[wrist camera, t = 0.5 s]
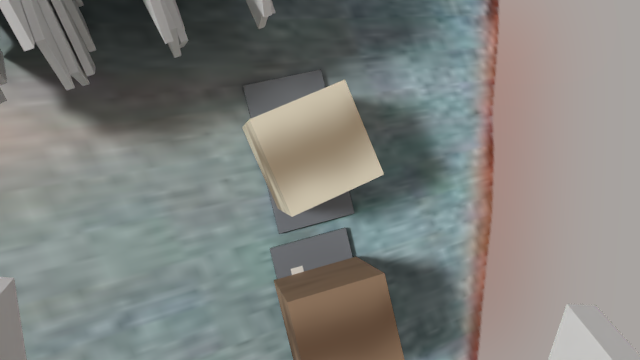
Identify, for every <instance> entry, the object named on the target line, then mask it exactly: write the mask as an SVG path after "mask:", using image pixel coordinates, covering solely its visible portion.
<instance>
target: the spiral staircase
mask: <svg viewBox="0 0 640 360" xmlns="http://www.w3.org/2000/svg"><path fill="white" fill-rule="evenodd" d="M143 2H144V4H145V6H146V8H147V10H148V11H149V13H150V15H151V17H152V19H153V21H154V23H155V25H156V27H157V29H158V31H159V33H160V34H161V36H162V38H163V40H164V42H165V44H167V43H168V45H169V47H170V49H171V52H172V54H173V56H174V58H176V57H179V56H181V50H180V48H182V47H184V46H185V45H186V43H187V42H188V38H187V35H186V33H185V27H184V24H183V21H182V18H181V15H180V12H179V10H178V7H177V4H176V1H175V0H143ZM246 2H247V4H248V7H249V9H250V11H251V14H252V16H253V18H254V20H255V23H256V25H257V27H258V29H261V28H263V27H265V25H266V21H267V18H268V16H270V15H272V14H274V13H276V12H275V9H274V6H273V3H272V0H246ZM81 6H84V4H83V2H82V0H0V9H1V11H2V12H3V14H4V16H5V18H6V20H7V21H8V23H9V25H10V27H11V28H12V30H13V32H14V34H15V36H16V37H17V39H18V41H19V43H20V45H21V46H22V48H23V50H24V51H27V50H30V49H33V48H34V45H35V43H36V44H37V46H38V47H39V49H40V50H41V52H42V53H43V55H44V57H45V58H46V60H47V61H48V63H49V64H50V66H51V67H52V69H53V70H54V72H55V73H56V75H57V77H58V78H59V80H60V81H61V83H62V84H63V86H64V87H65V89H66V90H70V89H73V88H75V86H74V84H73V81H72V78H71V76H72V77H74V78H75V79H76V80H77V81H78V82H79V83H80V84H81V85H82V86H85V85H88V84H90V82H89V80H88V78H87V77H88V76H91V75H94V74H95V69H96V67H95V64H94V62H93V60H92V58H91V56H90V54H89V52H92V51H95V50H96V48H95V45H94V43H93V40H92V37H91V35H90V32H89V30H88V27H87V25H86V22H85V19H84V17H83V15H82V13H81V11H80V9H79V7H81ZM88 51H89V52H88ZM81 64H82V65H81ZM82 66H83V67H82ZM69 72H70V73H69ZM86 75H87V76H86ZM6 83H7V78H6V72H5V65H4V58H3V52H2V51H1V49H0V85H3V84H6ZM5 101H7V100H6V98H5V96H4V94H3V92H2V90H1V88H0V104H1V103H3V102H5Z"/></svg>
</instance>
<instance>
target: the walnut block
mask: <svg viewBox="0 0 640 360" xmlns="http://www.w3.org/2000/svg"><path fill="white" fill-rule="evenodd" d="M274 283H275V287H276V291H277V295H278V299H279V303H280V307H281V311H282V315H283V319H284V323H285V327H286V331H287V335H288V339H289V343H290V347H291V352H292V356H293V360H404V356H403V351H402V347H401V343H400V338H399V334H398V330H397V325H396V321H395V317H394V312H393V308H392V303H391V299H390V295H389V290H388V286H387V282H386V277H385V273H383V272H381V271H380V270H378V269H376V268H375V267H373V266H371V265H370V264H368V263H366V262H365V261H363V260H361V259H360V258H358V257H353V258H349V259H346V260H342V261H339V262H335V263H332V264H328V265H325V266H321V267H318V268H314V269H311V270H308V271H304V272H301V273H297V274H294V275H290V276H287V277H283V278H280V279H276V280H274Z"/></svg>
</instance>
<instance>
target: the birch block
mask: <svg viewBox="0 0 640 360" xmlns="http://www.w3.org/2000/svg"><path fill="white" fill-rule="evenodd" d="M242 128H243V130H244V133H245V135H246V137H247V140H248V142H249V144H250V146H251V149H252V151H253V153H254V155H255V158H256V160H257V162H258V165H259V167H260V169H261V171H262V174H263V176H264V178H265V181H266V183H267V185H268V187H269V190H270V192H271V194H272V196H273V199H274V201H275V203H276V206H277V208H278V209H279V210H281V211H283V212H284V213H286V214H288V215H290V216H291V217H293V216H295V215H297V214H300V213H302V212H304V211H306V210H308V209H310V208H313V207H315V206H317V205H319V204H321V203H323V202H326V201H328V200H330V199H332V198H334V197H336V196H339V195H341V194H343V193H345V192H347V191H349V190H352V189H354V188H356V187H358V186H360V185H362V184H365V183H367V182H369V181H371V180H373V179H375V178H378V177H380V176H382V175H384V173H383V171H382V168H381V166H380V163H379V161H378V158H377V156H376V154H375V151H374V149H373V146H372V144H371V142H370V139H369V137H368V134H367V132H366V129H365V127H364V125H363V122H362V120H361V117H360V115H359V112H358V110H357V108H356V105H355V103H354V100H353V98H352V95H351V93H350V91H349V88H348V86H347V83H346V81H345V80H343V81H340V82H338V83H335V84H333V85H331V86H328V87H326V88H323V89H321V90H319V91H316V92H314V93H311V94H309V95H307V96H304V97H302V98H299V99H297V100H294V101H292V102H290V103H287V104H285V105H282V106H280V107H278V108H275V109H273V110H270V111H268V112H266V113H263V114H261V115H258V116H256V117H254V118H251V119H249V120H248V121H247V123H246V124H245V125H244V126H243V127H242Z"/></svg>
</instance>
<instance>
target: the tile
mask: <svg viewBox="0 0 640 360" xmlns="http://www.w3.org/2000/svg"><path fill="white" fill-rule="evenodd" d="M270 252H271V256H272V260H273V264H274V268H275V273H276V277H277V279H280V278H283V277H287V276H290V275H294V274H297V273H301V272H304V271H308V270H311V269H314V268H318V267H321V266H325V265H328V264H332V263H335V262H339V261H342V260H346V259H349V258H353V257H352V252H351V248H350V244H349V240H348V235H347V231H346V228H341V229H338V230H334V231H330V232H327V233H323V234H319V235H316V236H312V237H309V238H305V239H301V240H298V241H294V242H290V243H287V244H283V245H279V246H276V247H272V248H270Z"/></svg>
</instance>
